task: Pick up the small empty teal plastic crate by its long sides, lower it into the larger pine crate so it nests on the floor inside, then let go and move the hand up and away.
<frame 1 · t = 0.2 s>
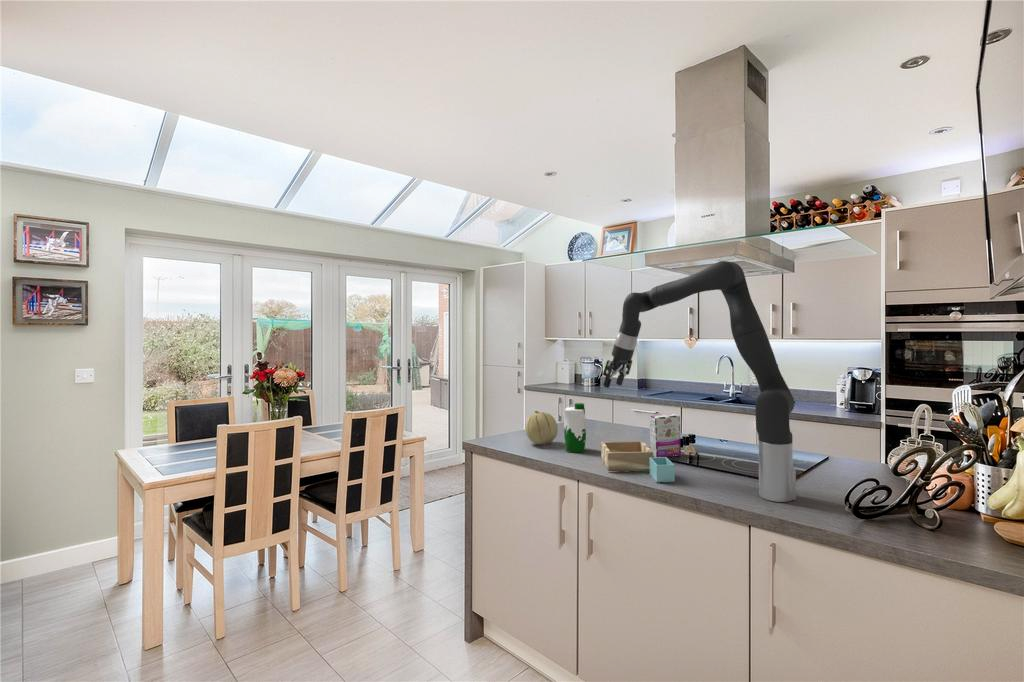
hand: (612, 385, 193), 31 cm above the worktop, tool tilted 20°, fingers open, 8 cm apart
teal crate: (661, 478, 179), on the worktop
cantaloupe: (542, 444, 233), on the worktop
pine crate: (626, 465, 196), on the worktop
candy bar box: (665, 456, 208), on the worktop
milk carton: (575, 450, 221), on the worktop
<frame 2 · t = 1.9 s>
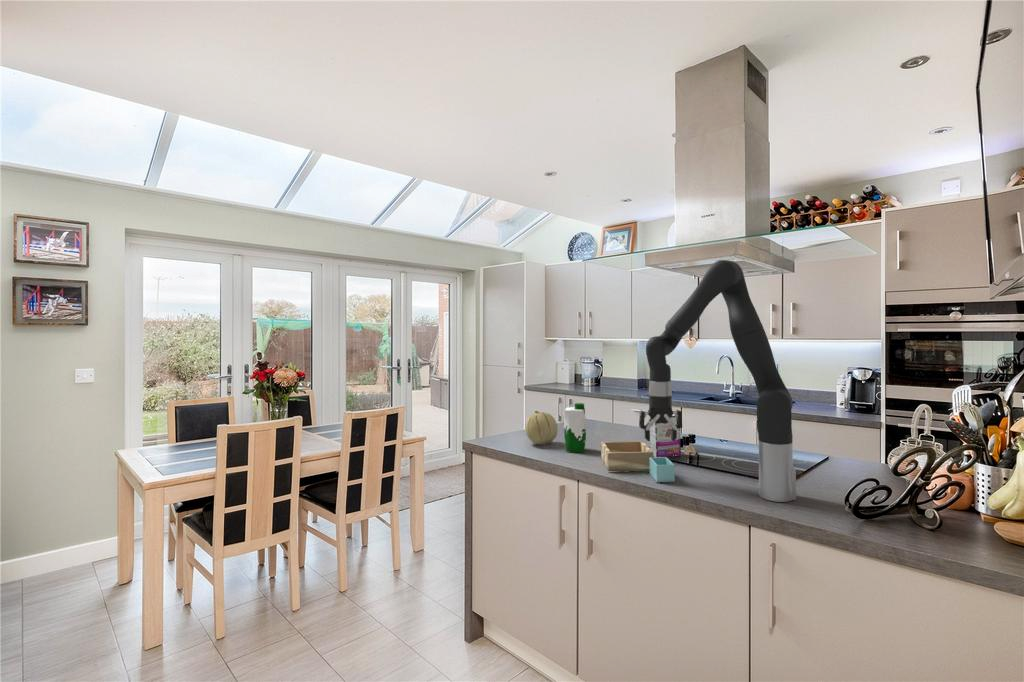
hand: (660, 440, 178), 13 cm above the worktop, tool pointing down, fingers open, 8 cm apart
nothing on the worktop moved.
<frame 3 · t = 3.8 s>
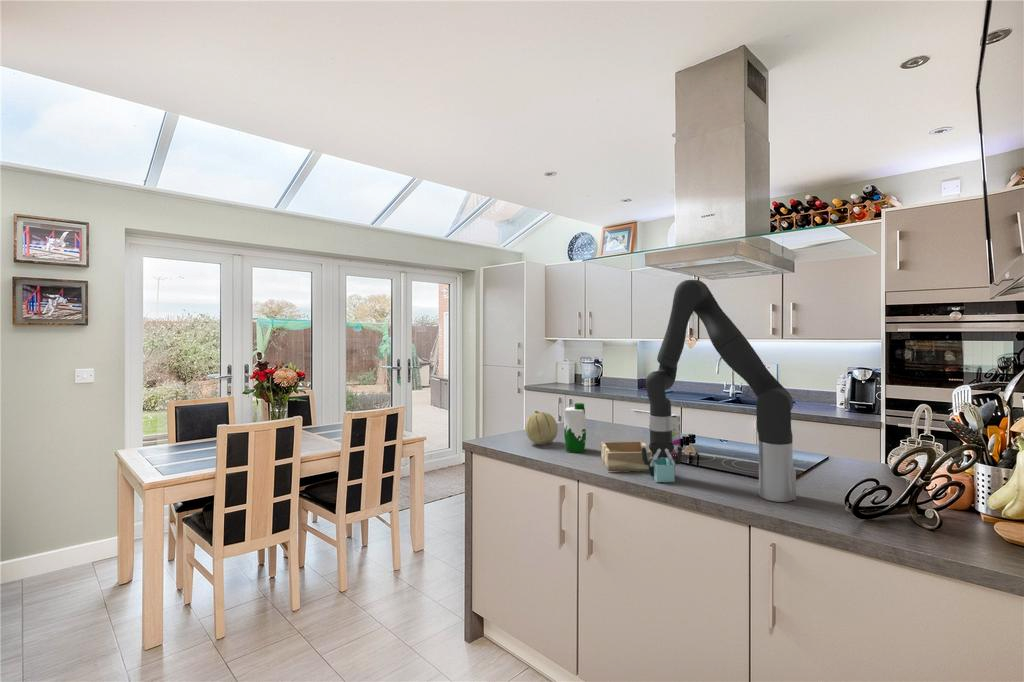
hand: (661, 476, 179), 1 cm above the worktop, tool pointing down, fingers closed on teal crate, 6 cm apart
teal crate: (661, 478, 179), on the worktop, touching gripper
everything else where it was.
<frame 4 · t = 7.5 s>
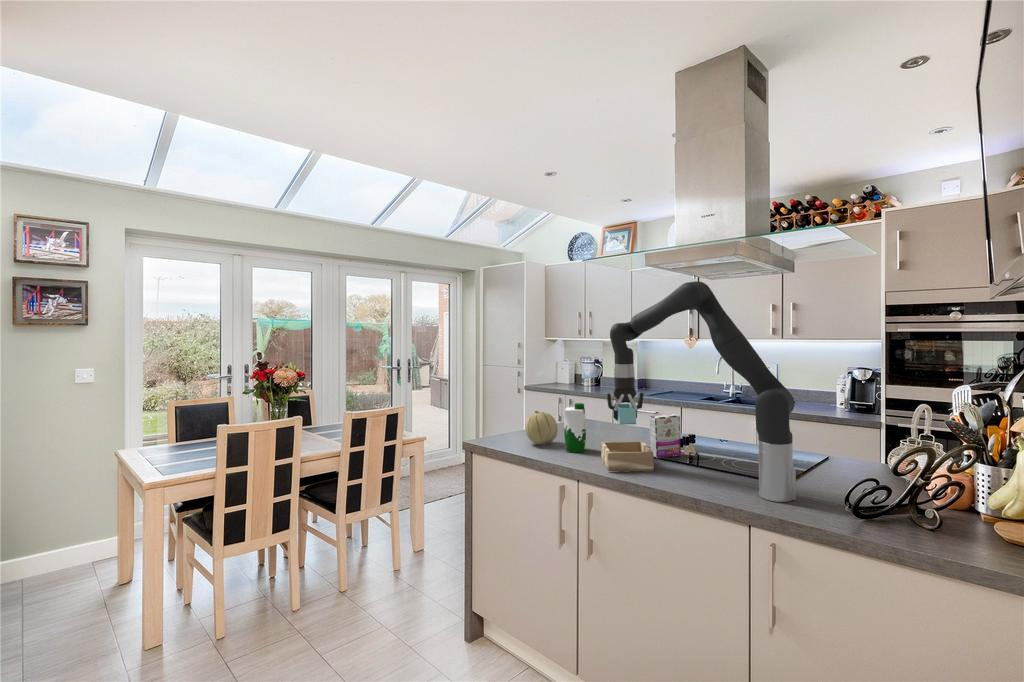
hand: (625, 419, 195), 17 cm above the worktop, tool pointing down, fingers closed on teal crate, 6 cm apart
teal crate: (625, 421, 196), point 17 cm above the worktop, touching gripper
everything else where it was.
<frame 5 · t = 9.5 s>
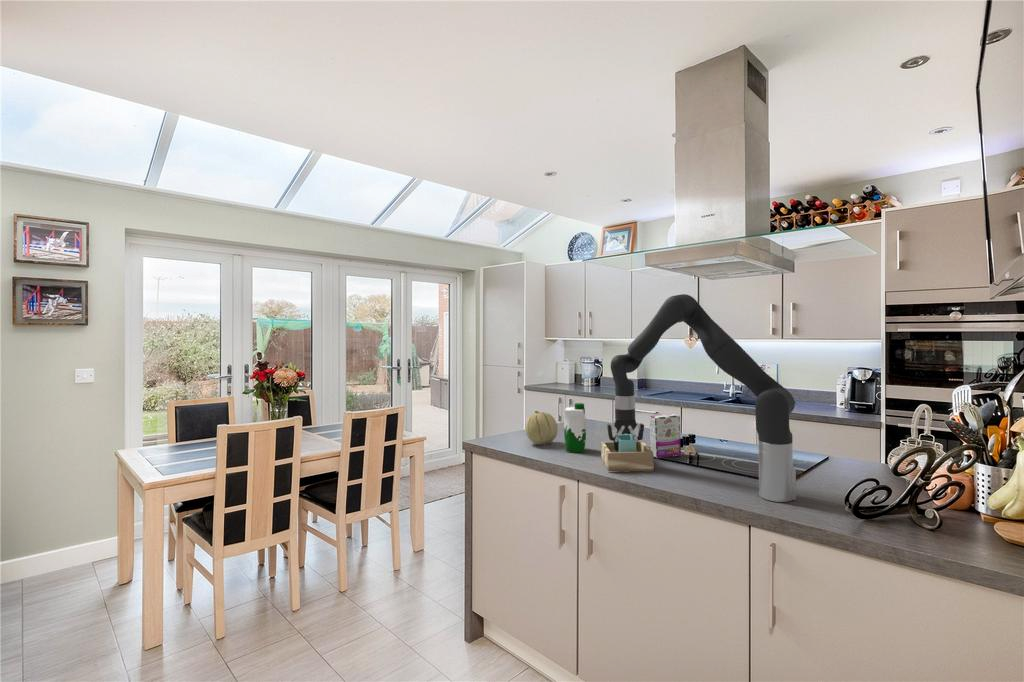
hand: (625, 450, 196), 5 cm above the worktop, tool pointing down, fingers closed on teal crate, 6 cm apart
teal crate: (625, 452, 196), point 5 cm above the worktop, touching gripper
everything else where it was.
when the fingers open (3 cm above the worktop, at t = 11.0 s): teal crate drops 1 cm, resting on pine crate.
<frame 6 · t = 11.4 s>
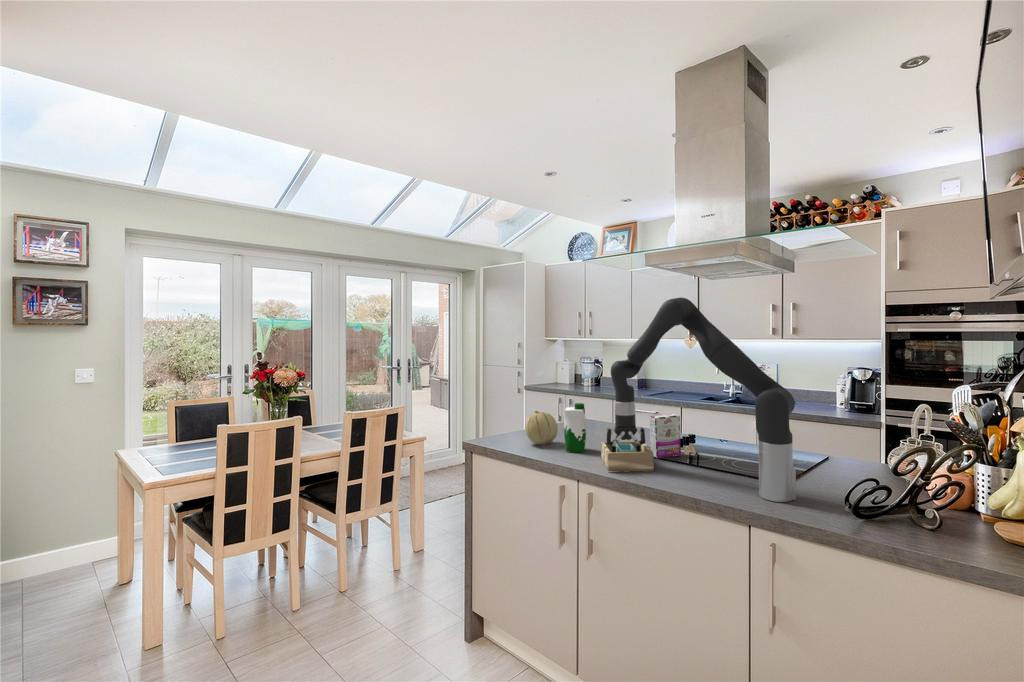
hand: (626, 455, 196), 4 cm above the worktop, tool pointing down, fingers open, 8 cm apart
teal crate: (626, 462, 196), point 1 cm above the worktop, touching pine crate
everything else where it was.
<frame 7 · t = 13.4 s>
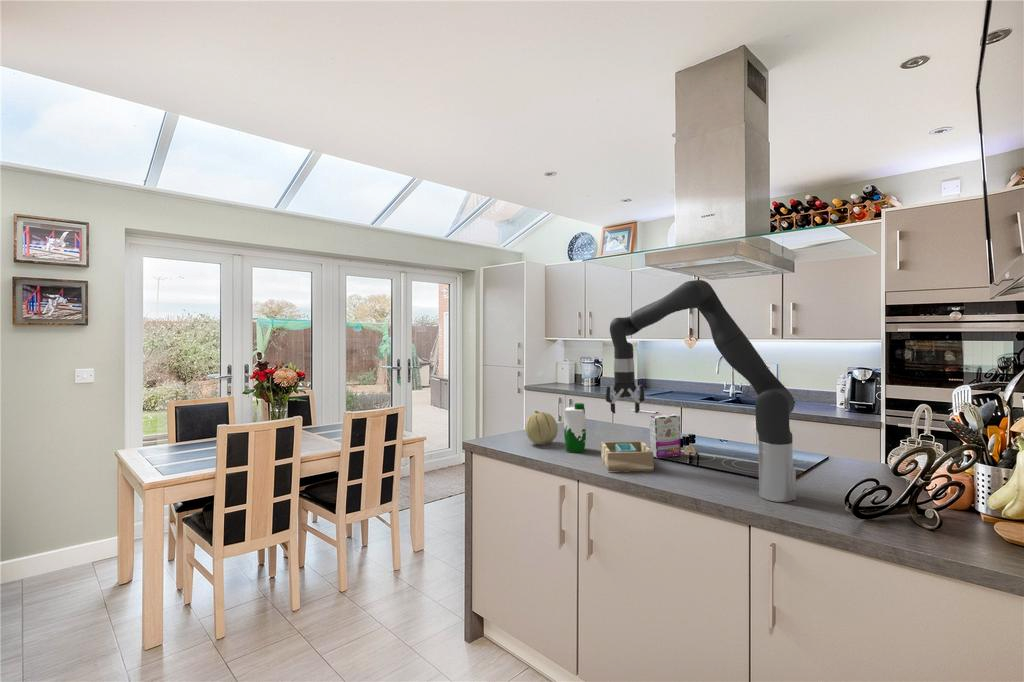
hand: (625, 412, 195), 20 cm above the worktop, tool pointing down, fingers open, 8 cm apart
nothing on the worktop moved.
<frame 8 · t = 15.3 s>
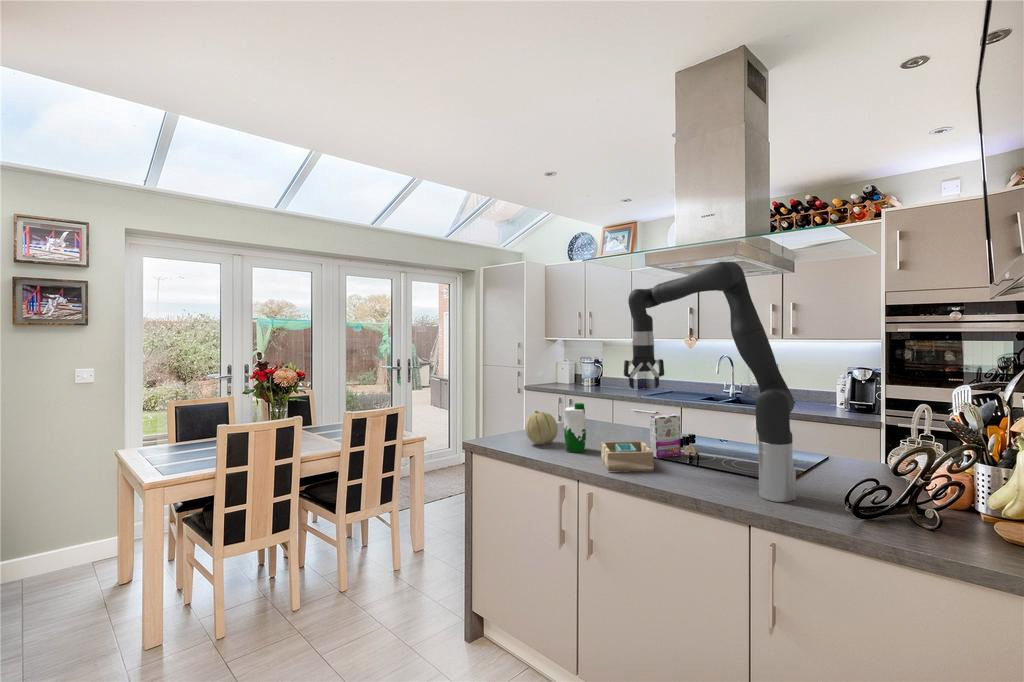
hand: (644, 388, 189), 30 cm above the worktop, tool pointing down, fingers open, 8 cm apart
nothing on the worktop moved.
at the end: teal crate inside the target area on the pine crate (0.1 cm from its centre), point 1.0 cm above the pine crate's base; teal crate tilted 0°; the gripper is holding nothing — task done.
